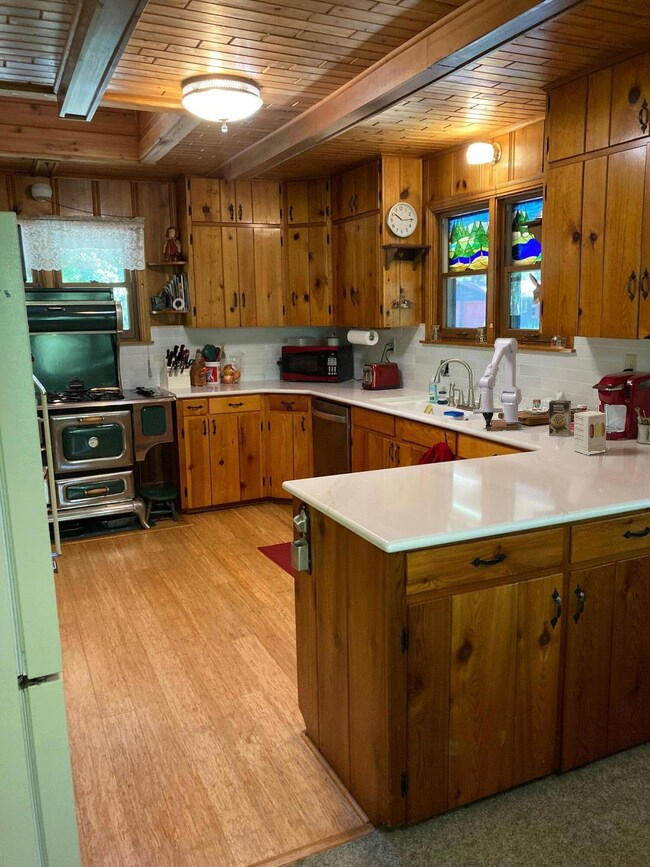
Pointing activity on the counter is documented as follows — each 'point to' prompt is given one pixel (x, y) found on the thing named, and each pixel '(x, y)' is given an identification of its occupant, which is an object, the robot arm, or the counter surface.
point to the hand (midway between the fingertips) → (488, 427)
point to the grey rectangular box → (559, 418)
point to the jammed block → (498, 423)
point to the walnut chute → (506, 427)
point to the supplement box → (590, 431)
